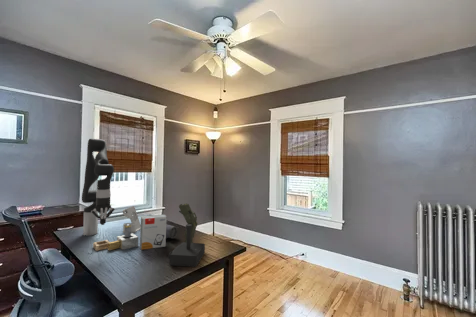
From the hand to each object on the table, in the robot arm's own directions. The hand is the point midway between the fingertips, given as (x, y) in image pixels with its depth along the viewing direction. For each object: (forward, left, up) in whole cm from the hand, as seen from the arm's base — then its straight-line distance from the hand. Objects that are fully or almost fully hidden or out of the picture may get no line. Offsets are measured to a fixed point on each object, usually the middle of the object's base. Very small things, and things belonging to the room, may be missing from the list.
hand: (102, 224), depth 141 cm
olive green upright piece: (+29, +43, -17) cm, 55 cm away
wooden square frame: (-8, +2, -17) cm, 19 cm away
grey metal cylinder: (0, +15, -17) cm, 22 cm away
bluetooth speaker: (-1, +39, -17) cm, 43 cm away
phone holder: (-34, +31, -17) cm, 49 cm away
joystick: (+44, +33, -17) cm, 58 cm away
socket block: (0, +15, -17) cm, 22 cm away
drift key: (0, +8, -17) cm, 19 cm away
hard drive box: (+12, +27, -17) cm, 34 cm away
